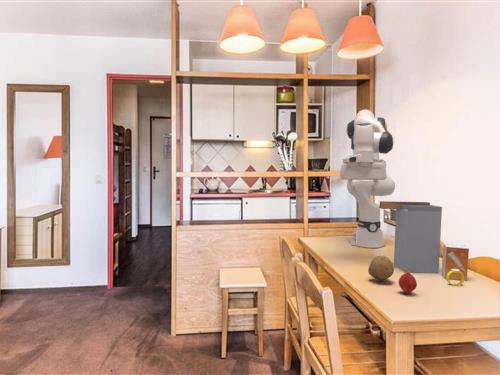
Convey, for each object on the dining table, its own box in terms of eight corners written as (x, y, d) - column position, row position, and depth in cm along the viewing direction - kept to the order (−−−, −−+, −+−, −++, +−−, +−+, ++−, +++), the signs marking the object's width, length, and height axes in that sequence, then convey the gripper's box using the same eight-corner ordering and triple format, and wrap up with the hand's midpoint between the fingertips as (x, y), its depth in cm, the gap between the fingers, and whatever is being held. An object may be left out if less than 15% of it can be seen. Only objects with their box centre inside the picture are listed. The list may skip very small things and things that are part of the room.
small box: (444, 278, 147) (446, 246, 146) (441, 274, 153) (443, 243, 152) (467, 281, 144) (469, 248, 144) (463, 276, 150) (465, 245, 150)
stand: (393, 265, 166) (396, 203, 164) (424, 265, 166) (427, 203, 165) (405, 272, 154) (408, 206, 152) (438, 273, 154) (441, 206, 153)
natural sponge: (398, 285, 138) (399, 258, 137) (376, 286, 136) (377, 259, 136) (385, 277, 147) (386, 253, 146) (365, 278, 145) (365, 253, 145)
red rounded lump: (395, 290, 131) (396, 268, 131) (410, 290, 132) (411, 268, 131) (403, 296, 126) (404, 273, 125) (419, 296, 126) (420, 273, 126)
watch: (449, 286, 138) (448, 271, 138) (445, 284, 141) (445, 268, 141) (465, 286, 138) (465, 270, 138) (461, 283, 141) (461, 268, 140)
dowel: (379, 208, 162) (379, 201, 162) (426, 208, 163) (426, 201, 163) (382, 208, 159) (382, 201, 159) (429, 209, 160) (430, 202, 160)
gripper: (383, 159, 168) (382, 189, 169) (339, 159, 168) (338, 189, 168) (389, 158, 162) (388, 190, 162) (343, 158, 161) (342, 189, 162)
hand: (362, 189), depth 165 cm, fingers open, 8 cm apart
